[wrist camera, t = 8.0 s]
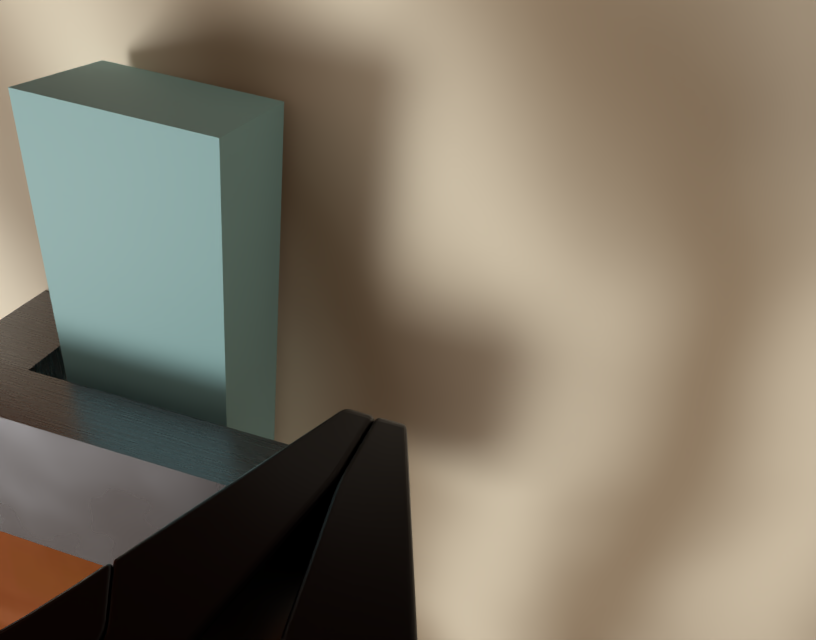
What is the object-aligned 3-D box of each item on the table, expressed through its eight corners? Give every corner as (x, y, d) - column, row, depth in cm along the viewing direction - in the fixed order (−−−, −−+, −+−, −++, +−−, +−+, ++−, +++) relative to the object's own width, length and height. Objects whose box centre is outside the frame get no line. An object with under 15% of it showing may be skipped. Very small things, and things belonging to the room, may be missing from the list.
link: (282, 666, 24) (251, 736, 22) (156, 619, 25) (114, 683, 23) (313, 107, 13) (253, 146, 11) (76, 53, 13) (-22, 80, 11)
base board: (200, 639, 28) (185, 666, 27) (-149, 55, 17) (-196, 64, 16) (819, 718, 20) (829, 760, 19) (923, -291, 9) (958, -315, 8)
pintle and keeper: (340, 667, 24) (284, 817, 20) (117, 591, 25) (24, 715, 21) (366, 357, 16) (282, 502, 12) (41, 274, 18) (-126, 379, 14)
